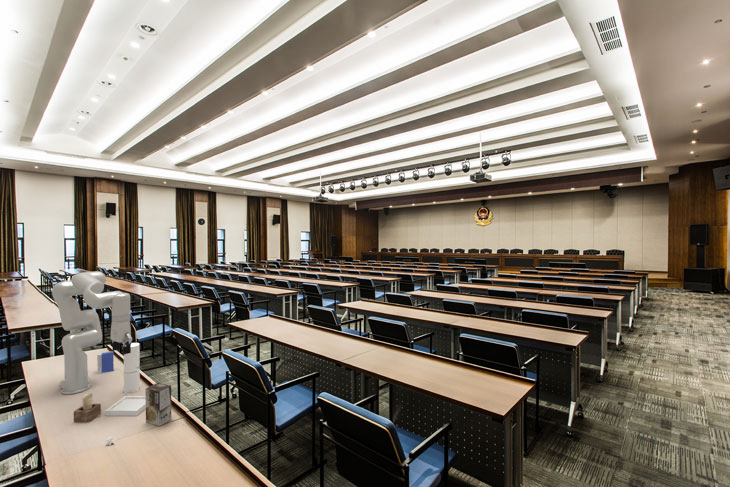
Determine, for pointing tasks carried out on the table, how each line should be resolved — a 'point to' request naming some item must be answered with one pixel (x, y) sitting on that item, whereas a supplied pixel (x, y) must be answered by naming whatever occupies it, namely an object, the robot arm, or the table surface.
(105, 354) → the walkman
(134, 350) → the cylindrical container
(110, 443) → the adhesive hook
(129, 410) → the tray
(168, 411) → the coffee box
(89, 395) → the dowel
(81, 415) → the square wooden box
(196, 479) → the table surface
